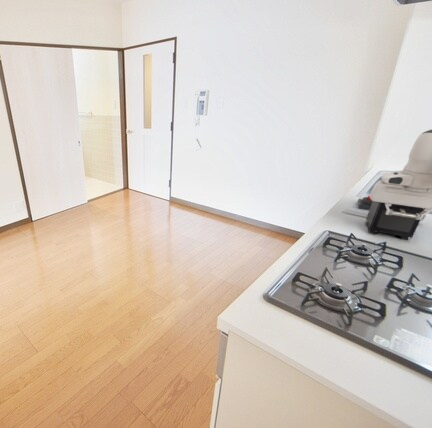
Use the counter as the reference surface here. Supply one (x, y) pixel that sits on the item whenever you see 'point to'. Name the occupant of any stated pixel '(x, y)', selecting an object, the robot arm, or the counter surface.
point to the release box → (364, 203)
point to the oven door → (396, 220)
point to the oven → (371, 217)
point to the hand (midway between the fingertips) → (402, 216)
